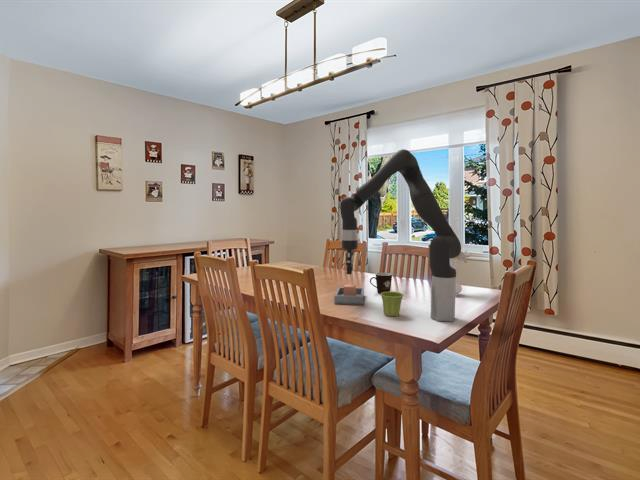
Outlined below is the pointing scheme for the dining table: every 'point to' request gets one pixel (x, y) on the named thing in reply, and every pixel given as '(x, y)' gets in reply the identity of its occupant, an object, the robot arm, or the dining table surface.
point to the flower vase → (453, 265)
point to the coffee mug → (383, 282)
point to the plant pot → (391, 303)
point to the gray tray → (349, 297)
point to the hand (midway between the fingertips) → (349, 272)
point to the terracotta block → (349, 290)
